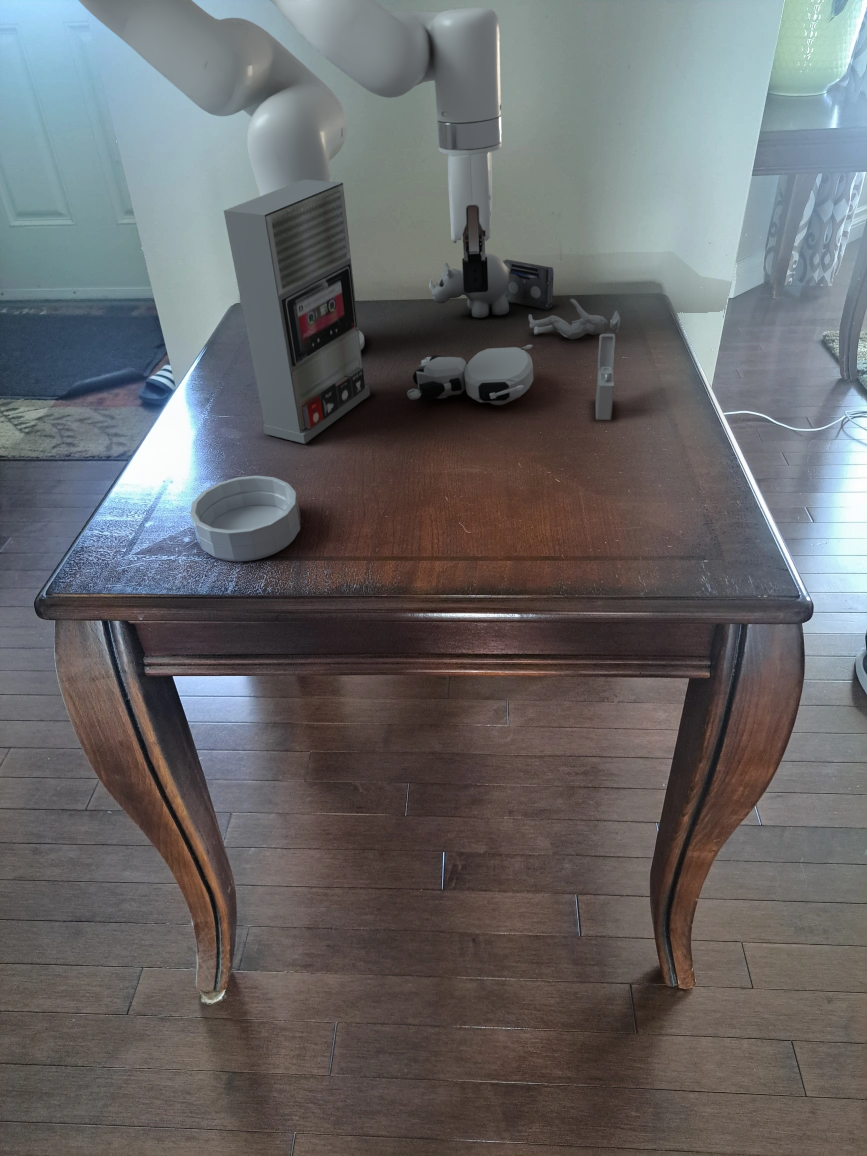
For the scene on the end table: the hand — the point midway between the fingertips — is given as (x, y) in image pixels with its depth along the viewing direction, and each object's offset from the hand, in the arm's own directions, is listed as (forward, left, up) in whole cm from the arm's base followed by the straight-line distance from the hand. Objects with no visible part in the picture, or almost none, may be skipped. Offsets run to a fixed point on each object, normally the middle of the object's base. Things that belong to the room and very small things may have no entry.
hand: (476, 290), depth 109 cm
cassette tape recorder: (-4, -26, -9) cm, 28 cm away
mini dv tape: (-4, +19, -9) cm, 21 cm away
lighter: (+23, -5, -9) cm, 25 cm away
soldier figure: (+9, +11, -9) cm, 16 cm away
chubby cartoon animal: (-9, +11, -9) cm, 17 cm away
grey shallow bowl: (+8, -48, -8) cm, 49 cm away
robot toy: (+8, -11, -9) cm, 16 cm away
